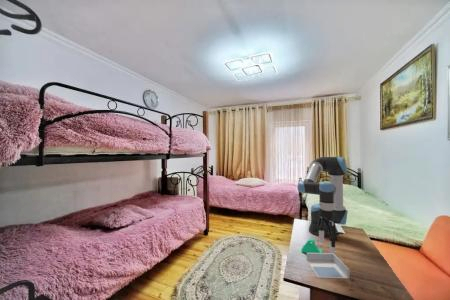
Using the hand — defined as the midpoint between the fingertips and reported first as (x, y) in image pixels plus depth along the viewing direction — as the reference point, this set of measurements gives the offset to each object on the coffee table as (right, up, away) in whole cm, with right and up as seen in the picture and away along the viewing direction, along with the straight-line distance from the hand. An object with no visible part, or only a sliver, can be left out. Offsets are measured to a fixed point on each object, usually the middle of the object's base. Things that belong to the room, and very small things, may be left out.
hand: (326, 246), depth 112 cm
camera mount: (+1, -16, +21) cm, 26 cm away
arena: (+1, -15, +3) cm, 15 cm away
